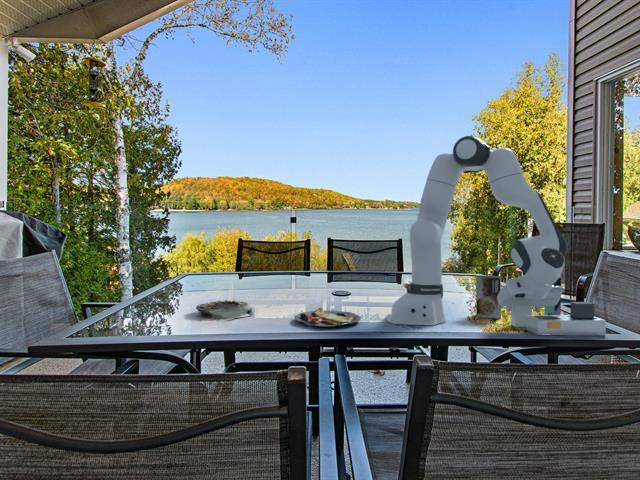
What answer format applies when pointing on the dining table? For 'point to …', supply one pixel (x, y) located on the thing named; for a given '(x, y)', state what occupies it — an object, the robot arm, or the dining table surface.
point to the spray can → (557, 308)
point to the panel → (520, 315)
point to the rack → (568, 322)
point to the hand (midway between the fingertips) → (521, 309)
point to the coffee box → (488, 296)
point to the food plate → (327, 318)
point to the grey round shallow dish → (224, 310)
